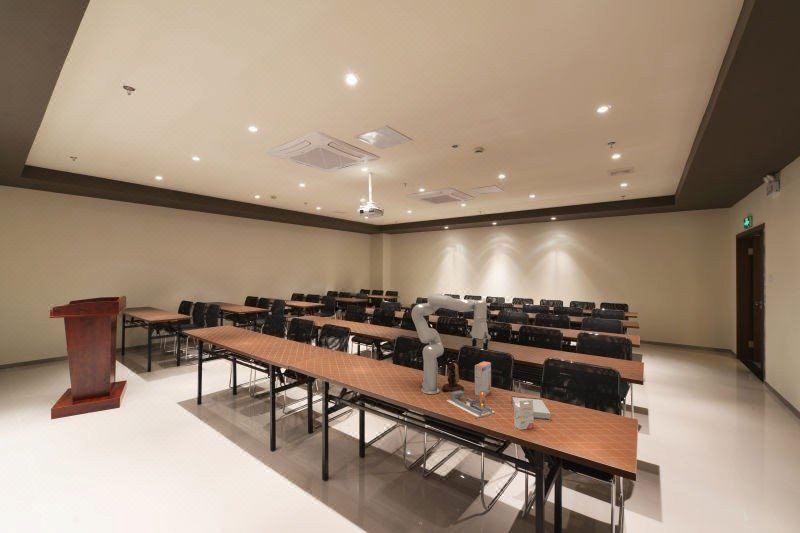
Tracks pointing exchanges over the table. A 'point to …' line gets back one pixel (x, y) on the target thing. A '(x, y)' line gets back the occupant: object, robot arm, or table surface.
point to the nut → (463, 399)
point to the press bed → (467, 404)
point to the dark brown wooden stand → (453, 378)
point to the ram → (480, 403)
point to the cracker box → (483, 378)
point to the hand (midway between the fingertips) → (479, 347)
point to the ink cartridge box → (523, 415)
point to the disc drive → (535, 408)
